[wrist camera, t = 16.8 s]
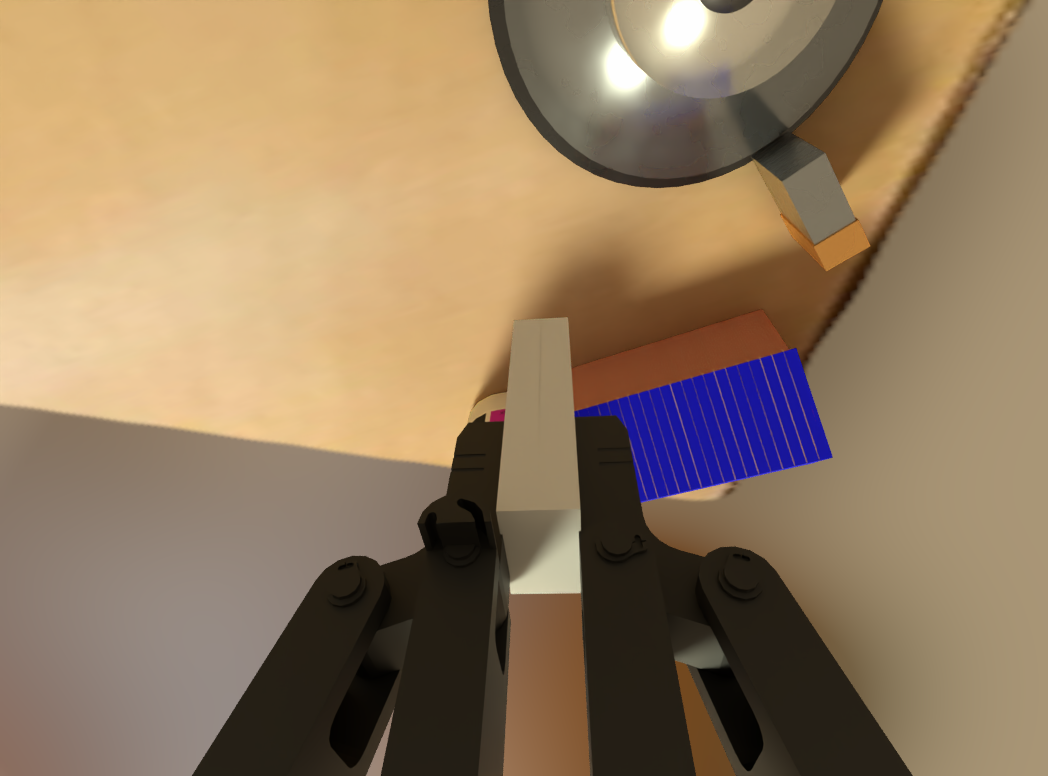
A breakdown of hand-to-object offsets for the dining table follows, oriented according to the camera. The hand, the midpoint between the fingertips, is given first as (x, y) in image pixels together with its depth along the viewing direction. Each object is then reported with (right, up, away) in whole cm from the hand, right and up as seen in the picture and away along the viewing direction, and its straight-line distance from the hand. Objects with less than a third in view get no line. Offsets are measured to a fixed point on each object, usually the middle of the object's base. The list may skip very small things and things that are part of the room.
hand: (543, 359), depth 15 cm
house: (+12, -1, +33) cm, 35 cm away
